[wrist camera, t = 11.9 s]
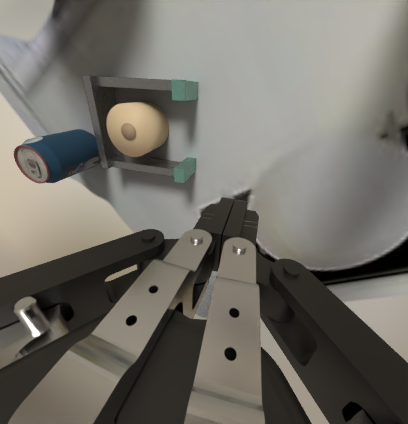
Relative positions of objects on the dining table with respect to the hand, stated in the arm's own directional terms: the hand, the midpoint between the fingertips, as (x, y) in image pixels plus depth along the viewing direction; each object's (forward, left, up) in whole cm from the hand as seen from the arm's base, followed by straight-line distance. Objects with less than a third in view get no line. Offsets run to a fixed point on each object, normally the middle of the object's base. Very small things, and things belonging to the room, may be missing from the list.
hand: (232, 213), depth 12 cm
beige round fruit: (+18, 0, -23) cm, 29 cm away
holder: (+17, 0, -23) cm, 29 cm away
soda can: (+31, +5, -23) cm, 39 cm away
